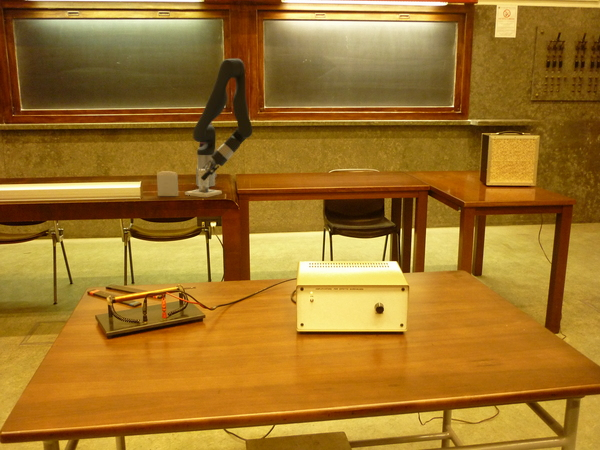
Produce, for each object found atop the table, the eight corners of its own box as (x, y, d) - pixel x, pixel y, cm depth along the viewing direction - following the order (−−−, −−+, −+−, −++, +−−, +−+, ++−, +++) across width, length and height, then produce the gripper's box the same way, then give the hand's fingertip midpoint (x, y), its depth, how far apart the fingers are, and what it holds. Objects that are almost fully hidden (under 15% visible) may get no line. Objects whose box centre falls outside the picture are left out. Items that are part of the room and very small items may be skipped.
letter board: (185, 195, 292) (185, 191, 291) (201, 191, 303) (201, 188, 303) (205, 197, 286) (205, 194, 285) (221, 193, 297) (221, 190, 296)
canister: (196, 191, 293) (196, 169, 291) (202, 190, 297) (202, 168, 295) (204, 192, 291) (204, 170, 288) (210, 191, 295) (210, 169, 293)
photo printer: (156, 196, 287) (155, 171, 284) (159, 195, 291) (158, 170, 288) (177, 196, 286) (176, 171, 284) (179, 195, 291) (178, 170, 288)
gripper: (214, 148, 298) (192, 171, 297) (220, 150, 286) (198, 175, 284) (224, 158, 302) (202, 181, 300) (231, 161, 289) (209, 185, 287)
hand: (200, 178), depth 292 cm, fingers open, 8 cm apart
